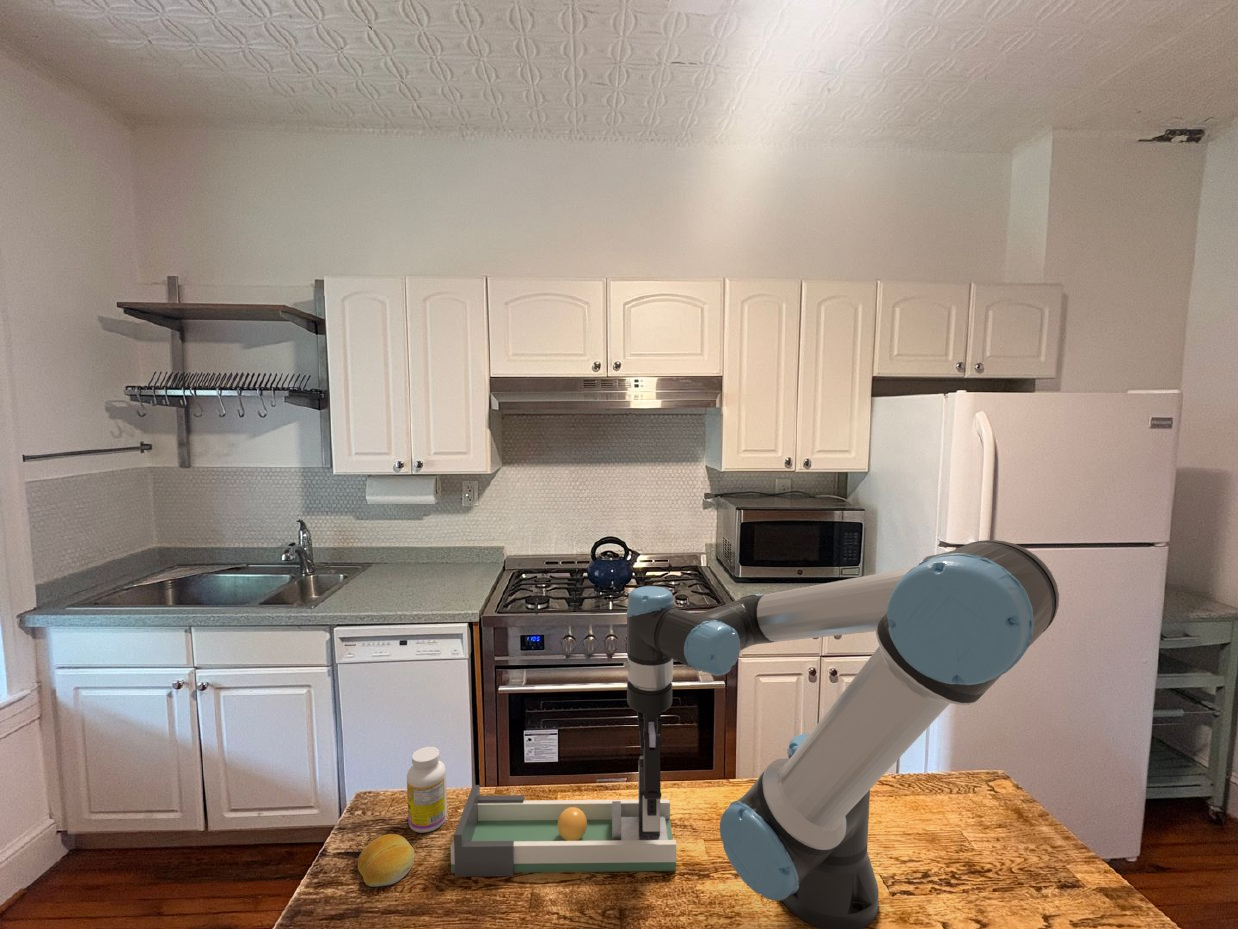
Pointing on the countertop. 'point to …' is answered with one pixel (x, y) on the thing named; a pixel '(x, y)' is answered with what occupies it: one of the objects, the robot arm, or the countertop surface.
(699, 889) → the countertop surface
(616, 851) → the board
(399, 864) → the bread roll
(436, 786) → the supplement bottle
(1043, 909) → the countertop surface
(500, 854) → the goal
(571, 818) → the ball
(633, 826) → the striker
